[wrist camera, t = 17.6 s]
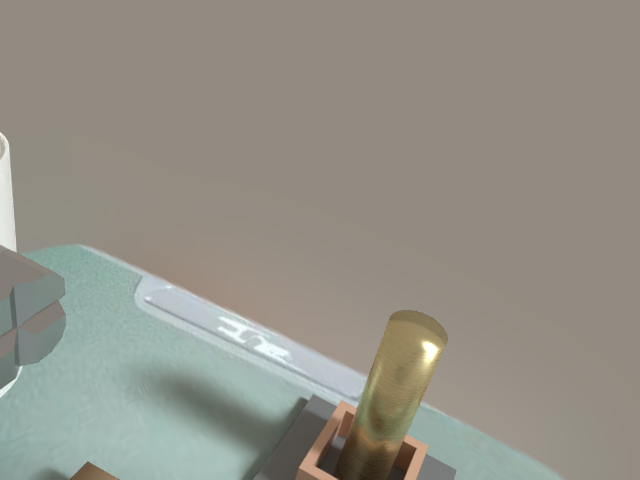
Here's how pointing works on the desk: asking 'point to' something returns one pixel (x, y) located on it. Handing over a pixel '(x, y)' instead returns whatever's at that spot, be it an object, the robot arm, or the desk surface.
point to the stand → (339, 449)
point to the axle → (391, 395)
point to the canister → (6, 213)
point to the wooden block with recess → (92, 473)
